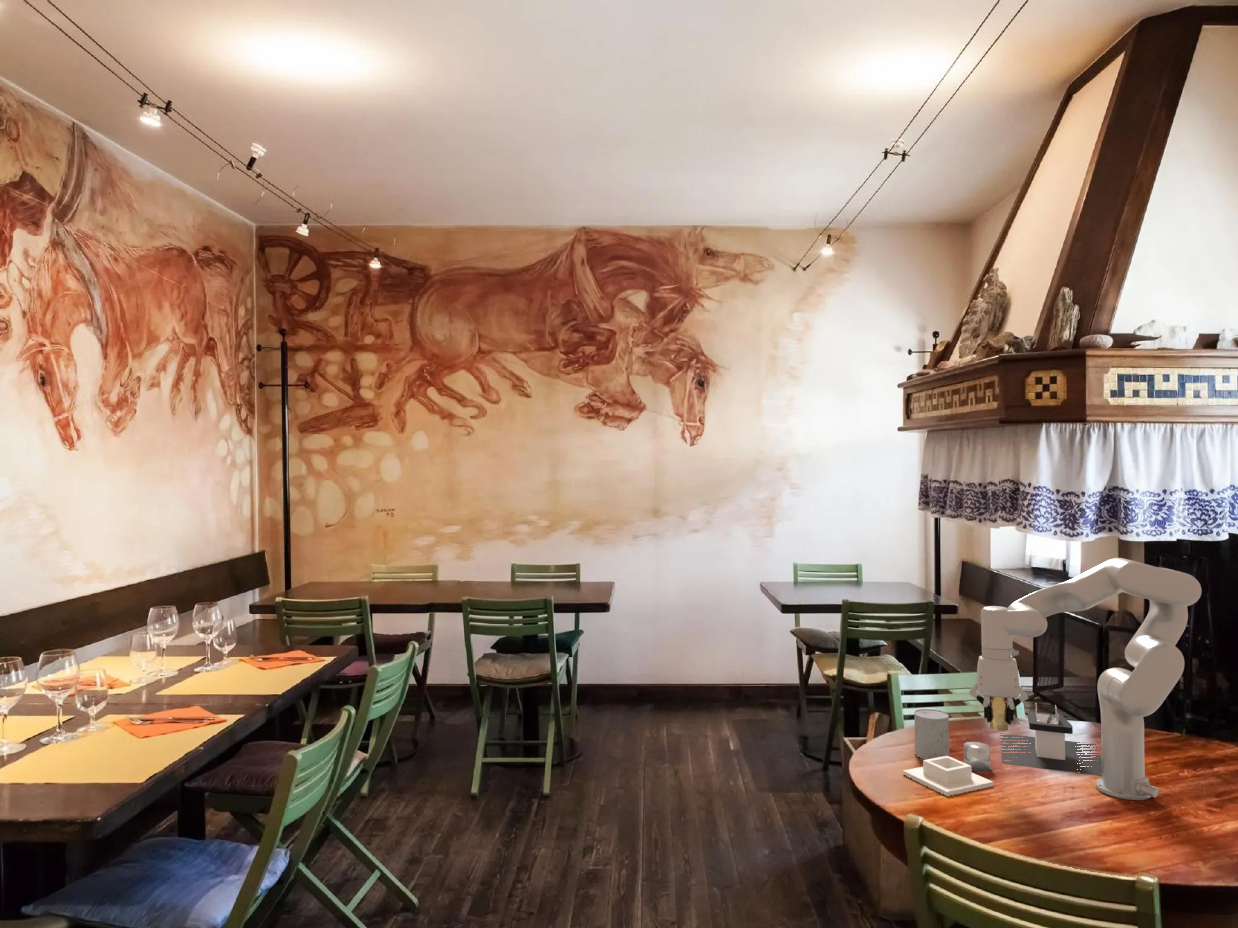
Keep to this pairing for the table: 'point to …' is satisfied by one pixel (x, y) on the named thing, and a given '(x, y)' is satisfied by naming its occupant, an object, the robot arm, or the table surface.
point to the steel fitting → (977, 756)
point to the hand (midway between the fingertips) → (998, 721)
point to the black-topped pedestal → (1050, 746)
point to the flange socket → (947, 776)
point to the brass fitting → (998, 713)
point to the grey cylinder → (931, 733)
